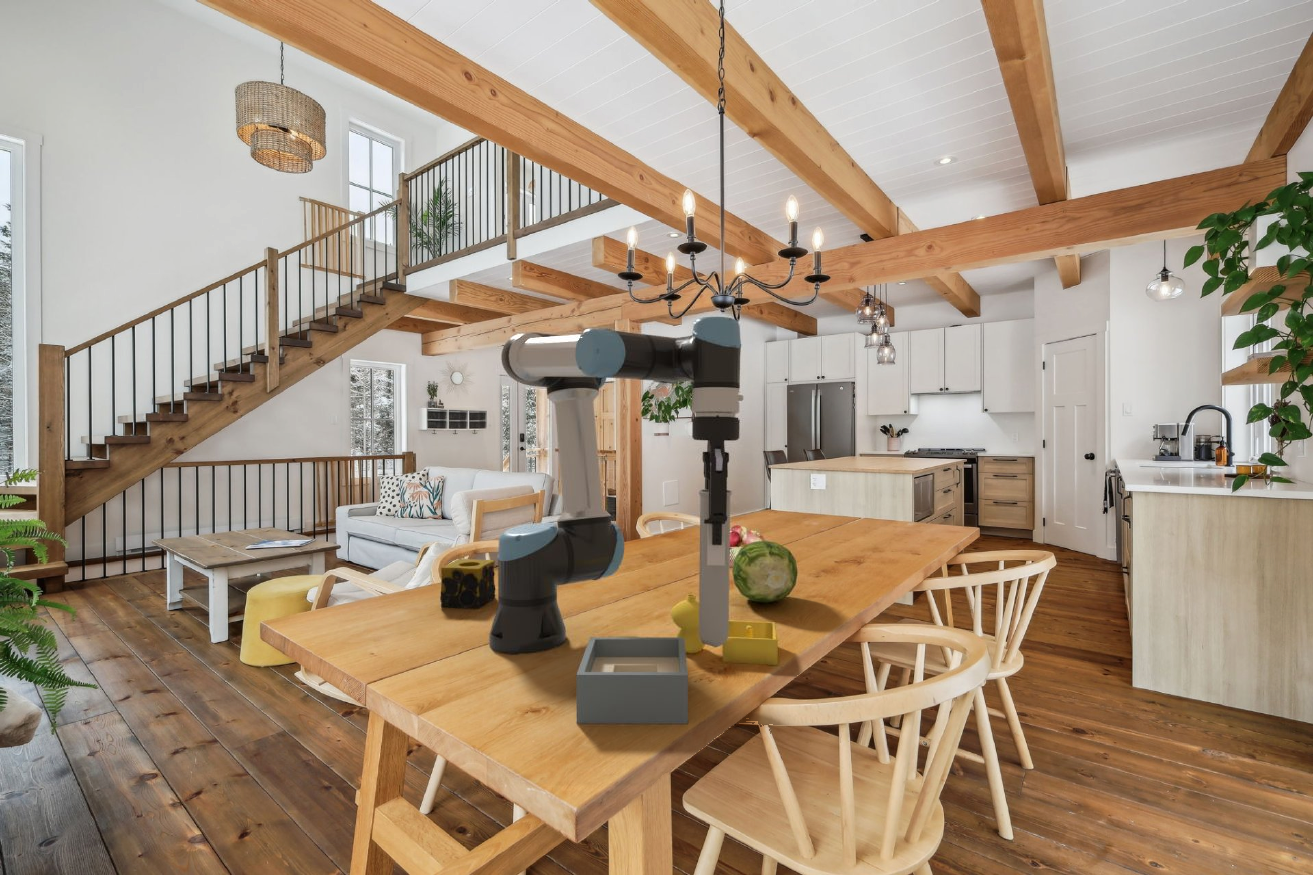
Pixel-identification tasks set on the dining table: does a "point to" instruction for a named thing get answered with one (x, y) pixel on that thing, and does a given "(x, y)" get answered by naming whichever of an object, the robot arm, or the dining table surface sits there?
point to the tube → (713, 583)
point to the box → (633, 681)
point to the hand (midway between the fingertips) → (714, 560)
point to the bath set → (729, 636)
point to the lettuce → (764, 571)
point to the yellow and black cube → (467, 584)
